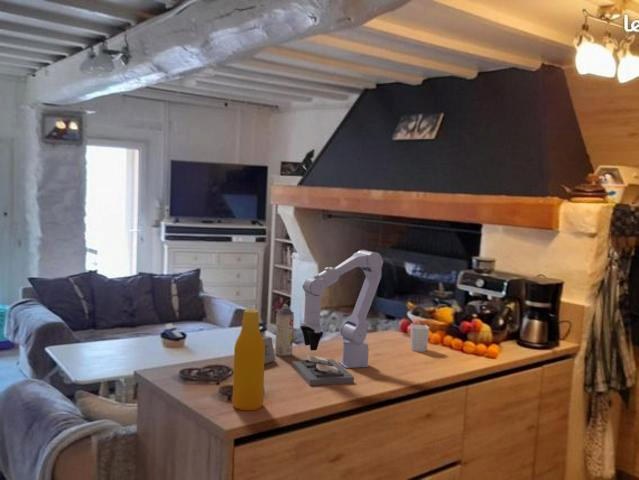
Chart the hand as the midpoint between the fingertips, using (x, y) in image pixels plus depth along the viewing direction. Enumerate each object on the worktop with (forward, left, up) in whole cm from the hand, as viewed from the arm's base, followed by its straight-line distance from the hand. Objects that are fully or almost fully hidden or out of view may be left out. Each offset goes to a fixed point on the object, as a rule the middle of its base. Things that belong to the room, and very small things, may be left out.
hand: (310, 347), depth 217 cm
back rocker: (-3, 0, -6) cm, 6 cm away
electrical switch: (+15, -12, -9) cm, 22 cm away
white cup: (-55, -19, -9) cm, 59 cm away
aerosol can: (+4, -21, -9) cm, 24 cm away
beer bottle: (+29, +31, -9) cm, 43 cm away
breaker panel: (-3, +6, -8) cm, 10 cm away
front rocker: (-3, +11, -6) cm, 13 cm away
